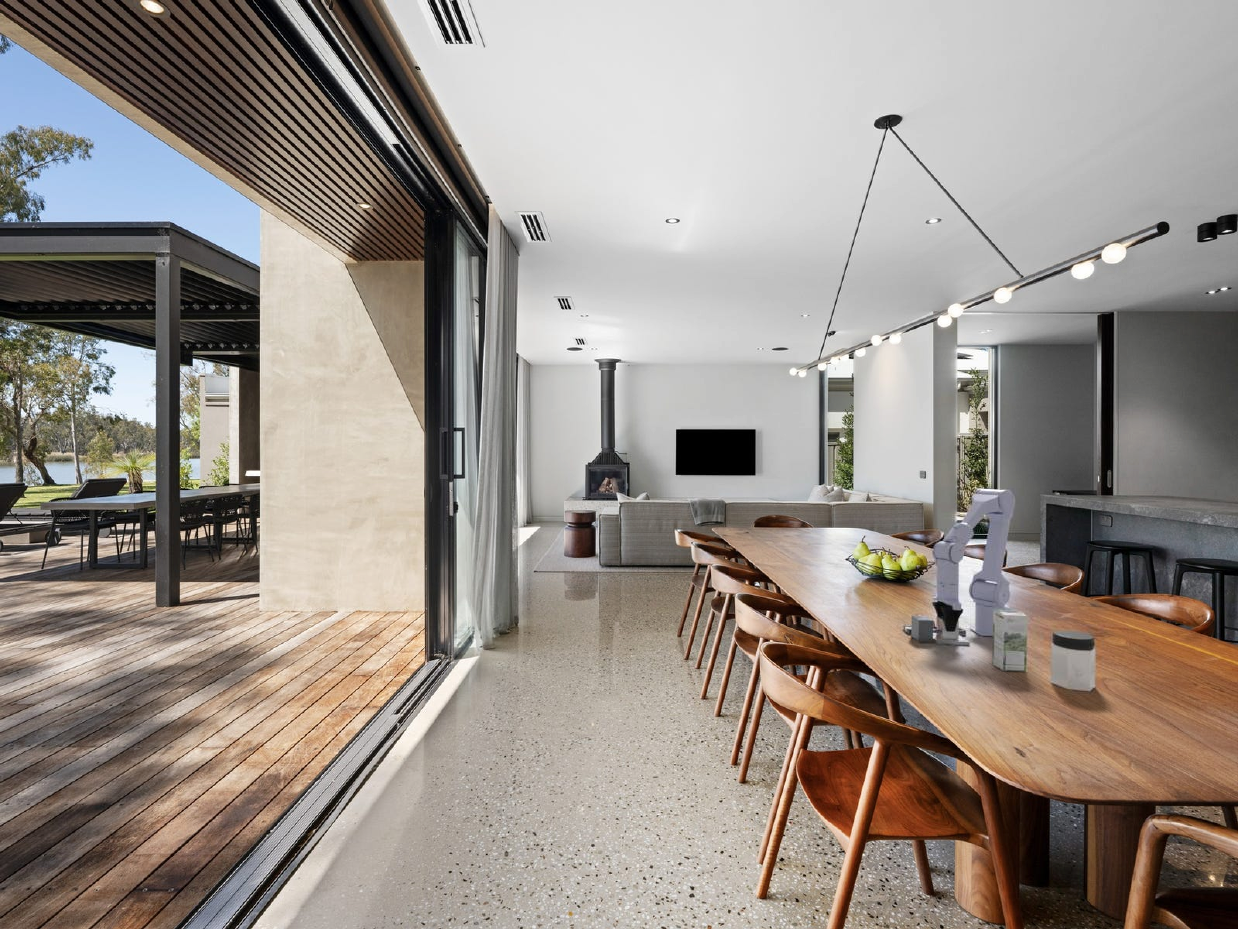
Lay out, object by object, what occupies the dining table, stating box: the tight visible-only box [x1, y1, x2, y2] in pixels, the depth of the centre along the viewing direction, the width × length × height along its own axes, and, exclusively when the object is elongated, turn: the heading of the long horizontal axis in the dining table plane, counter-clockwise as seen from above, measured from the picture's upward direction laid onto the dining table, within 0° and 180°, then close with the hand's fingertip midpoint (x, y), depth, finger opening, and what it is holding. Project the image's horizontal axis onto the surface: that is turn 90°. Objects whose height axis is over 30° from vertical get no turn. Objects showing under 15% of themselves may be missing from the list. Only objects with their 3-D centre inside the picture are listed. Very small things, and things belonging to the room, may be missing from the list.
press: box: [902, 614, 971, 646], centre depth 192 cm, size 17×15×6 cm
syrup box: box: [991, 609, 1029, 673], centre depth 164 cm, size 6×6×14 cm
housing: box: [935, 615, 960, 639], centre depth 189 cm, size 4×4×6 cm
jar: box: [1050, 629, 1096, 692], centre depth 152 cm, size 9×8×12 cm
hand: (947, 629), depth 189 cm, fingers closed on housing, 4 cm apart
